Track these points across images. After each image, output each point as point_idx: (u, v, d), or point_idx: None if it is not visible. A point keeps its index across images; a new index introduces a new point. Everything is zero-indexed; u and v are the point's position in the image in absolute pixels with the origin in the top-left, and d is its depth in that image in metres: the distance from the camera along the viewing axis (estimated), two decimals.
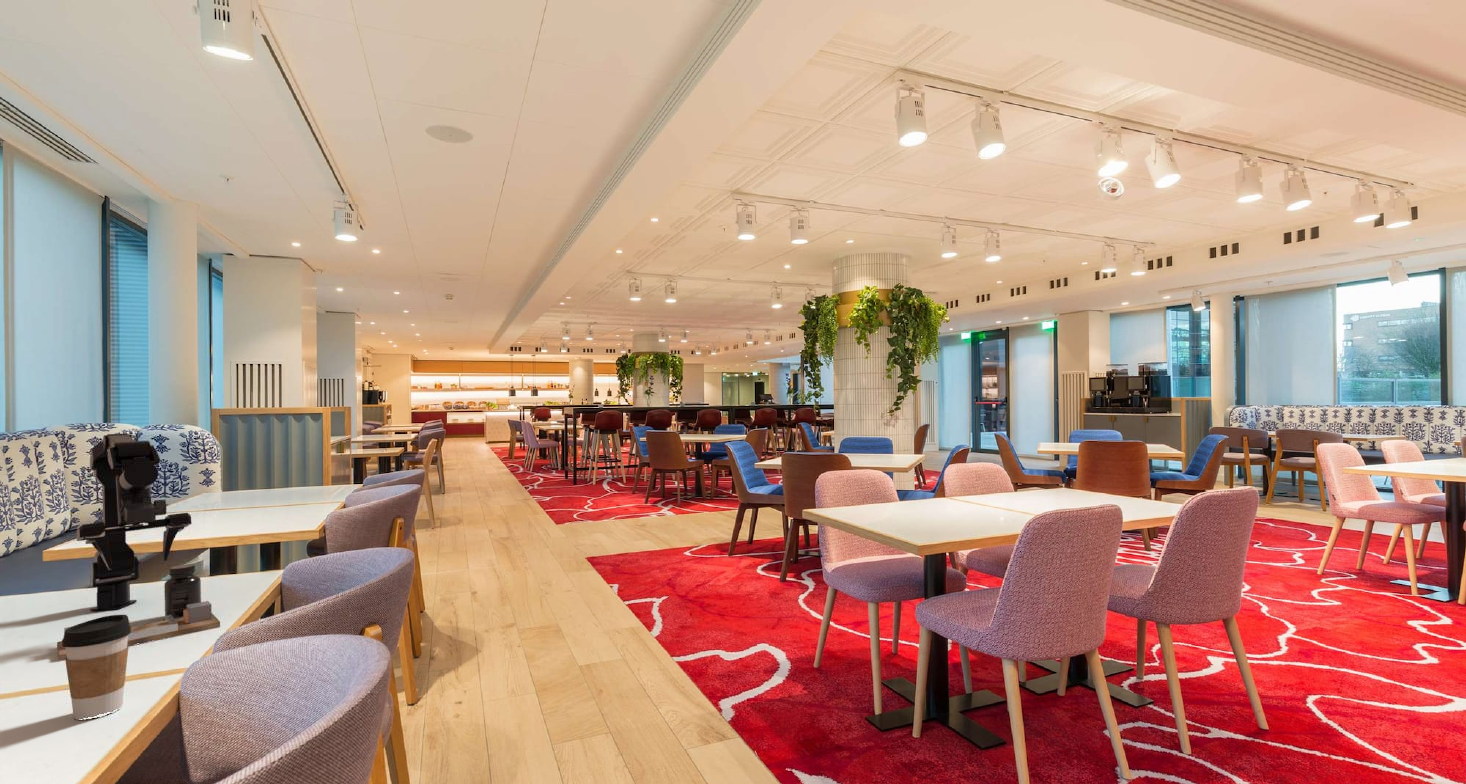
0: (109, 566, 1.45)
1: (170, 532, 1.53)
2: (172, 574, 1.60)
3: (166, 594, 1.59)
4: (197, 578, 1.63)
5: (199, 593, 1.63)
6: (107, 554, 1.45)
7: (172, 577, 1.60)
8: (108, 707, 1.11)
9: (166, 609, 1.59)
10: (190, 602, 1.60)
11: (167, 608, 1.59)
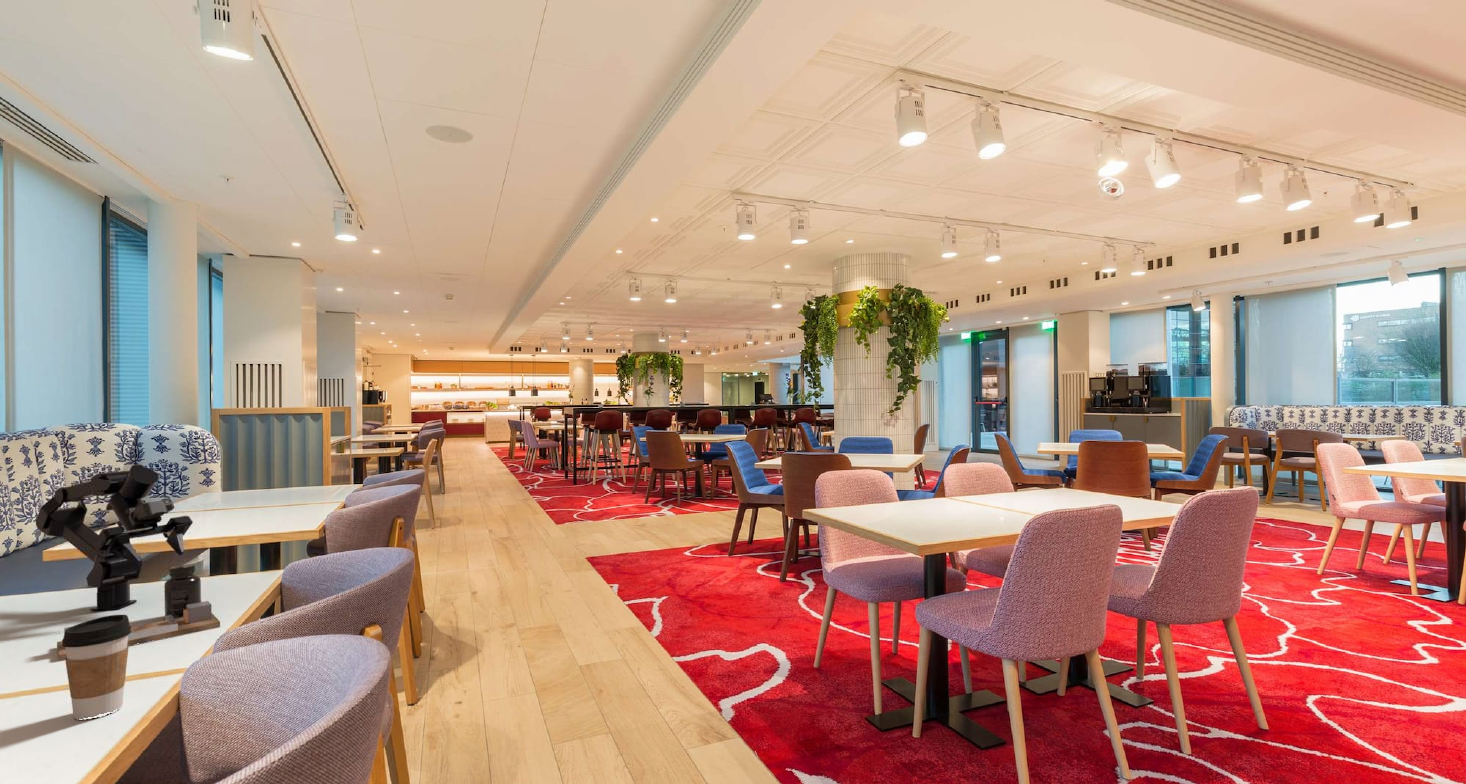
0: (138, 559, 1.60)
1: (178, 530, 1.71)
2: (172, 574, 1.60)
3: (166, 594, 1.59)
4: (197, 578, 1.63)
5: (199, 593, 1.63)
6: (133, 550, 1.60)
7: (172, 577, 1.60)
8: (108, 707, 1.11)
9: (166, 609, 1.59)
10: (190, 602, 1.60)
11: (167, 608, 1.59)
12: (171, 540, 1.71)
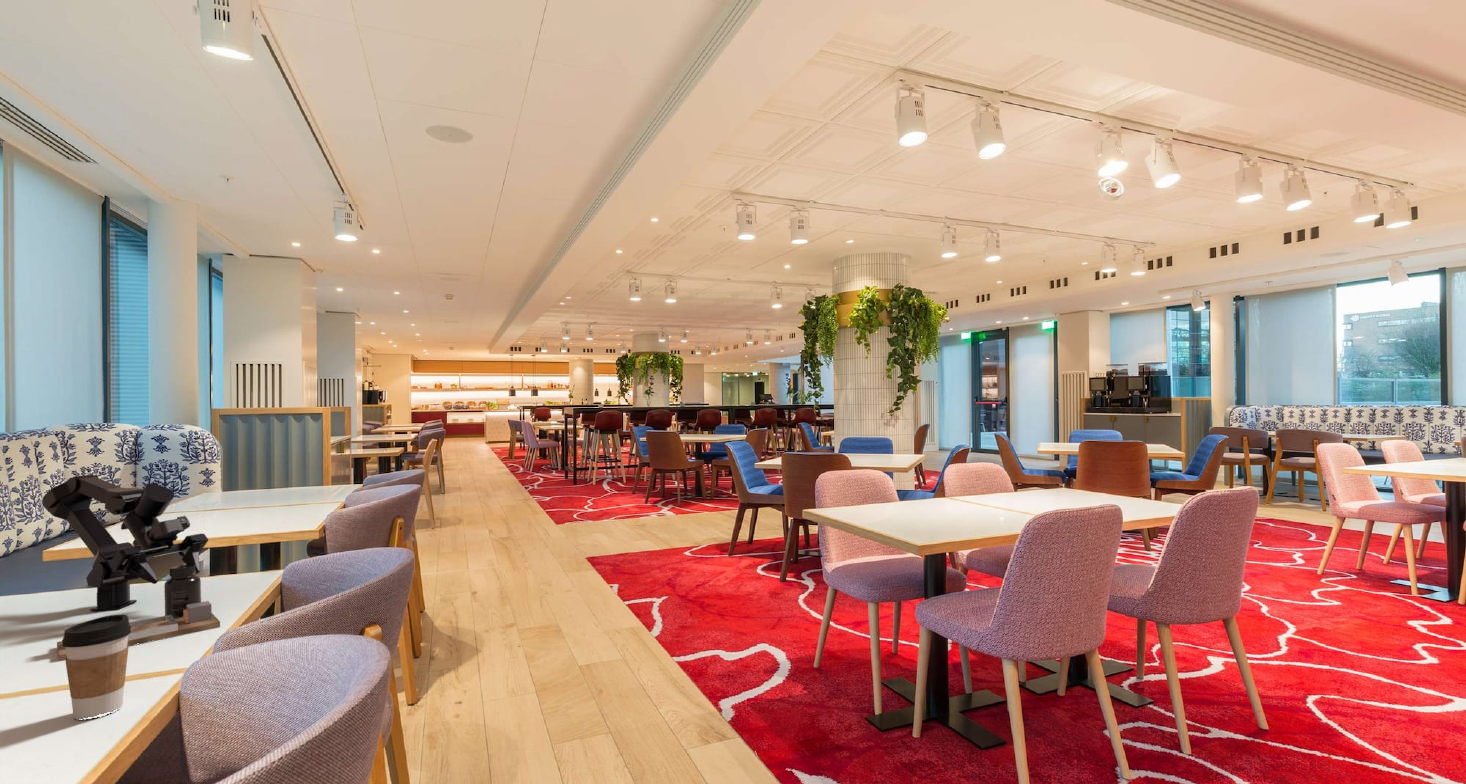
0: (155, 579, 1.58)
1: (194, 548, 1.69)
2: (172, 574, 1.60)
3: (166, 594, 1.59)
4: (197, 578, 1.63)
5: (199, 593, 1.63)
6: (149, 569, 1.58)
7: (172, 577, 1.60)
8: (108, 707, 1.11)
9: (166, 609, 1.59)
10: (190, 602, 1.60)
11: (167, 608, 1.59)
12: (187, 558, 1.69)
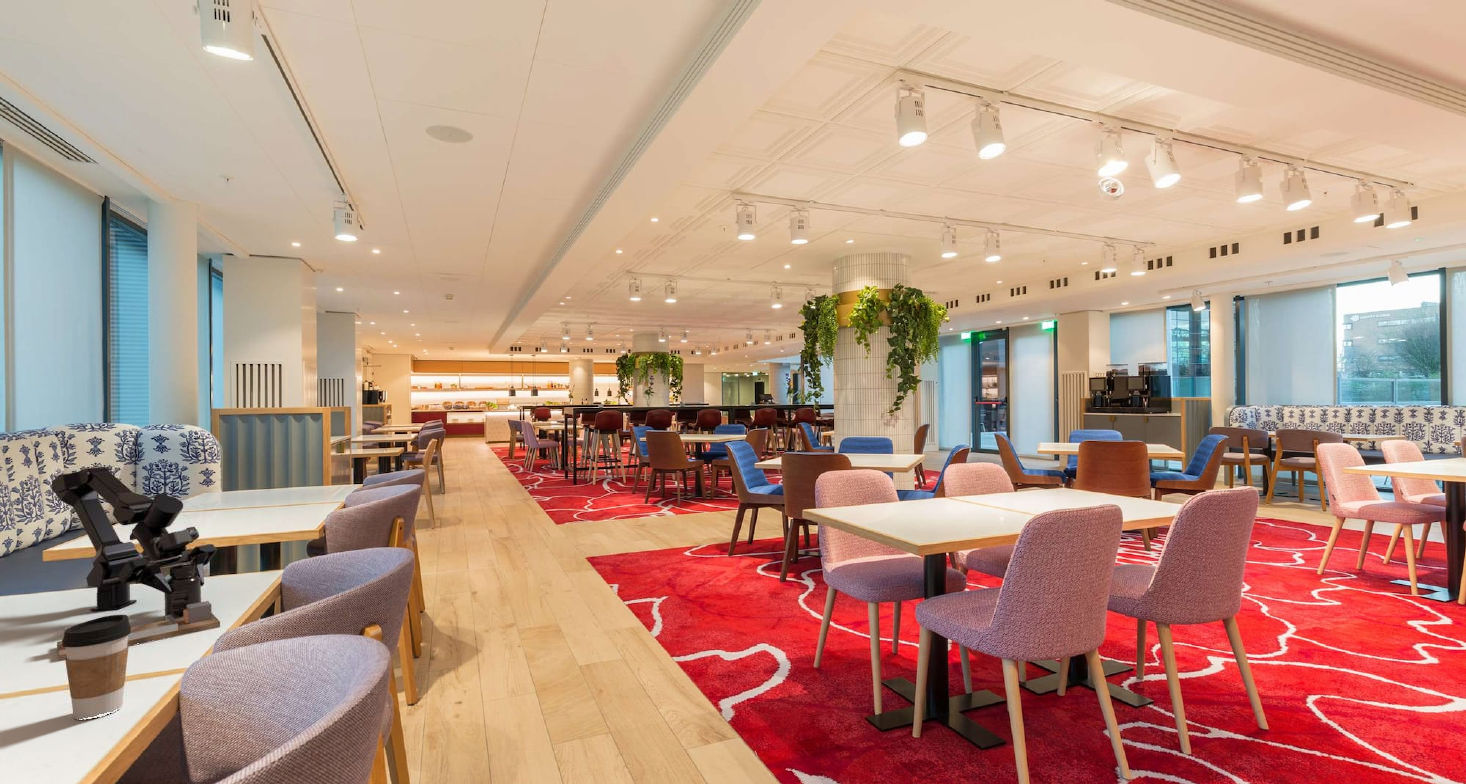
0: (169, 589, 1.58)
1: (198, 560, 1.67)
2: (172, 574, 1.60)
3: (166, 594, 1.59)
4: (197, 578, 1.63)
5: (199, 593, 1.63)
6: (164, 580, 1.58)
7: (172, 577, 1.60)
8: (108, 707, 1.11)
9: (166, 609, 1.59)
10: (190, 602, 1.60)
11: (167, 608, 1.59)
12: None
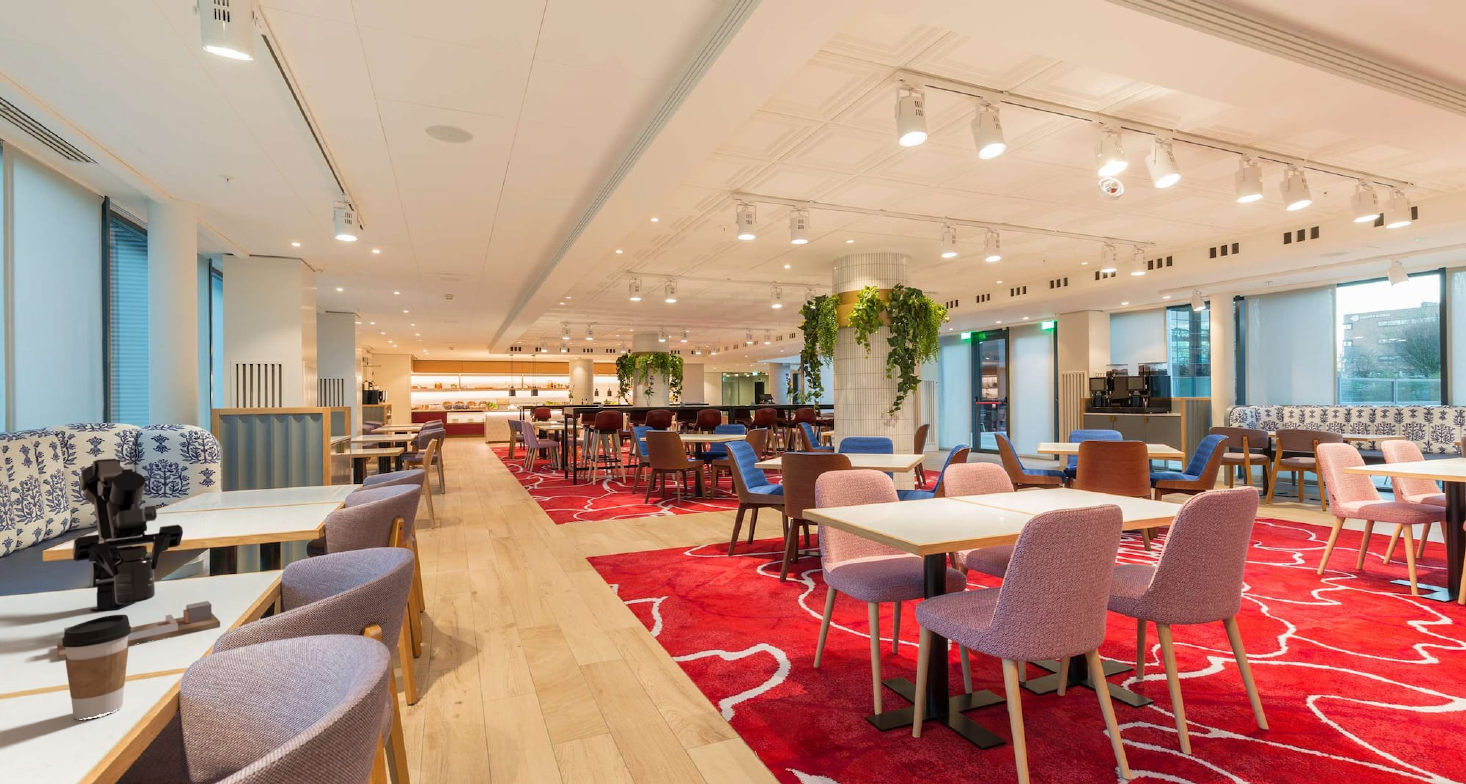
0: (113, 571, 1.50)
1: (157, 541, 1.58)
2: (119, 556, 1.52)
3: (114, 576, 1.51)
4: (145, 561, 1.53)
5: (148, 577, 1.54)
6: (110, 560, 1.51)
7: (120, 559, 1.52)
8: (108, 707, 1.11)
9: (115, 592, 1.51)
10: (134, 586, 1.51)
11: None
12: (152, 551, 1.59)
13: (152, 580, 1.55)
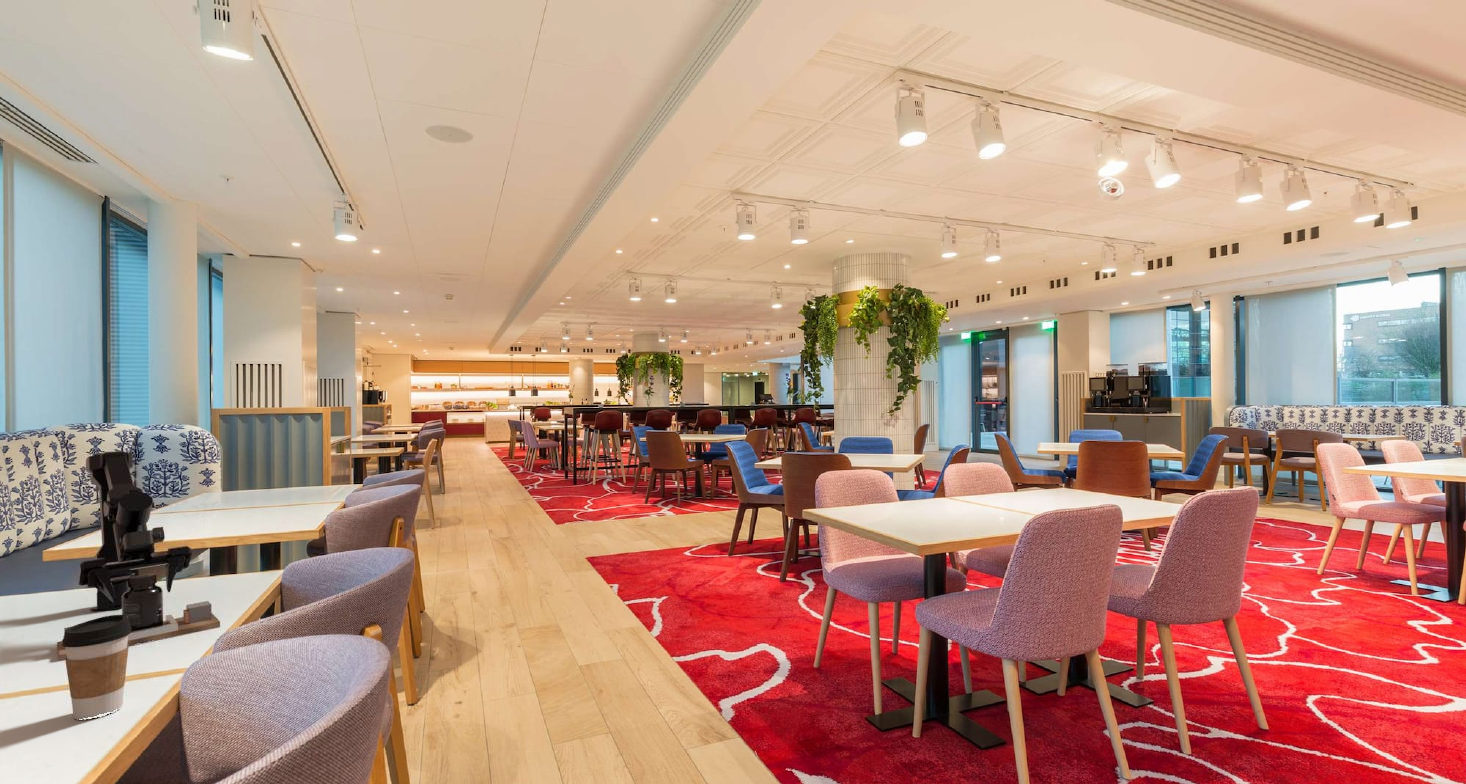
0: (112, 597, 1.43)
1: (171, 563, 1.53)
2: (128, 585, 1.46)
3: (122, 606, 1.46)
4: (154, 590, 1.48)
5: (157, 607, 1.48)
6: (109, 586, 1.44)
7: (129, 588, 1.47)
8: (108, 707, 1.11)
9: None
10: (143, 617, 1.46)
11: None
12: (166, 573, 1.54)
13: (161, 610, 1.49)
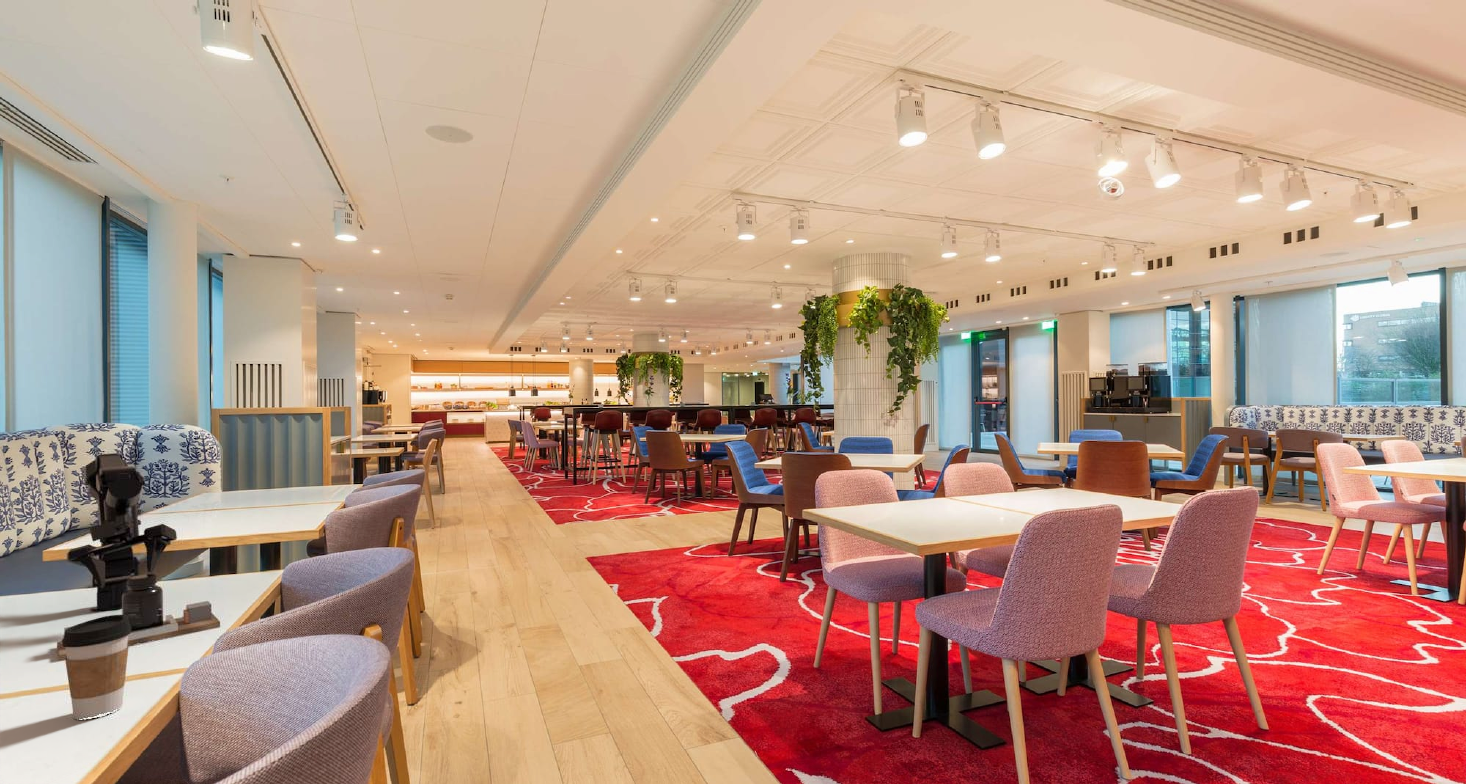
0: (99, 584, 1.52)
1: (147, 545, 1.56)
2: (128, 585, 1.46)
3: (122, 606, 1.46)
4: (155, 590, 1.48)
5: (157, 607, 1.48)
6: (95, 573, 1.53)
7: (129, 588, 1.47)
8: (108, 707, 1.11)
9: None
10: (143, 617, 1.46)
11: None
12: None
13: (161, 610, 1.49)
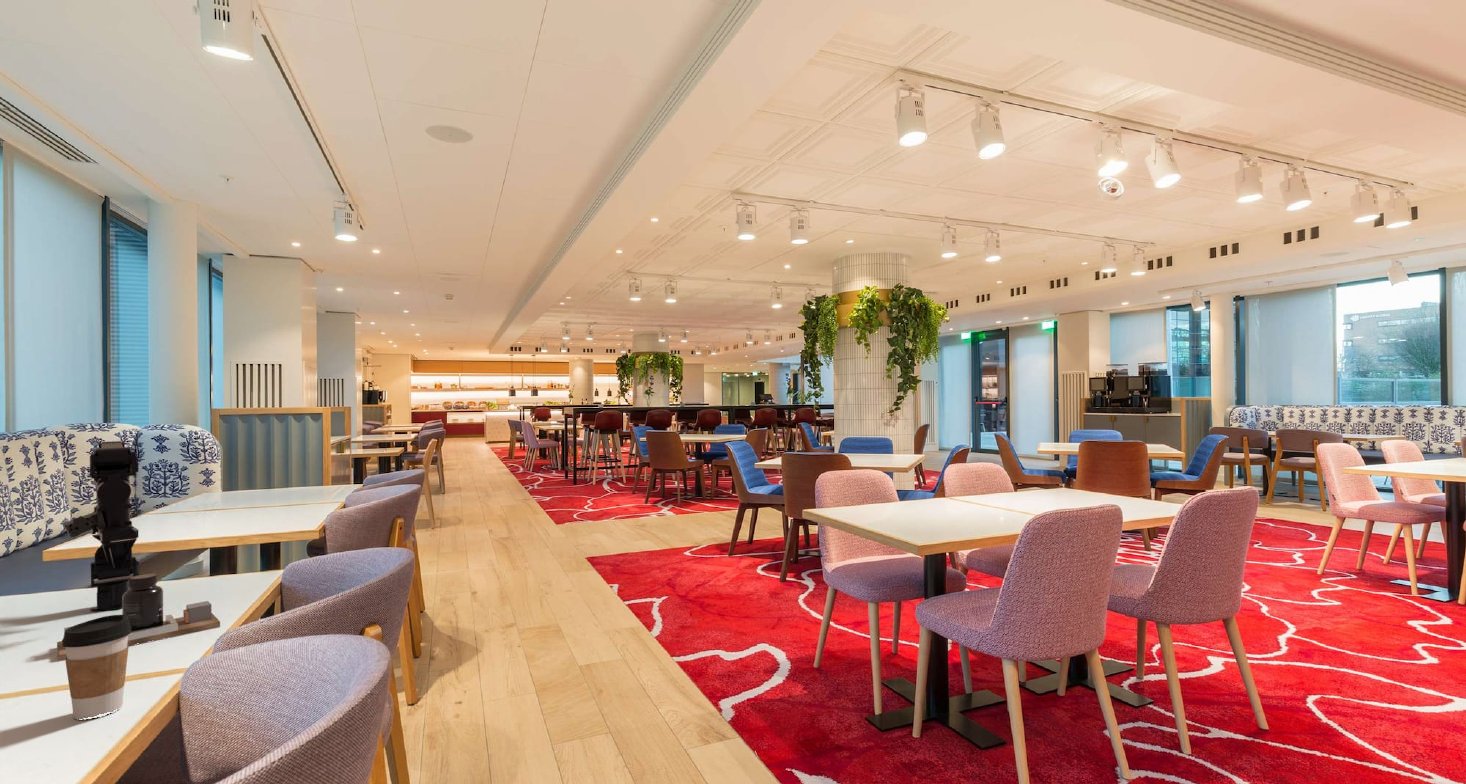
0: None
1: None
2: (129, 585, 1.46)
3: (122, 606, 1.46)
4: (155, 590, 1.48)
5: (157, 607, 1.48)
6: (104, 550, 1.61)
7: None
8: (108, 707, 1.11)
9: None
10: (143, 617, 1.46)
11: None
12: None
13: (161, 610, 1.49)
